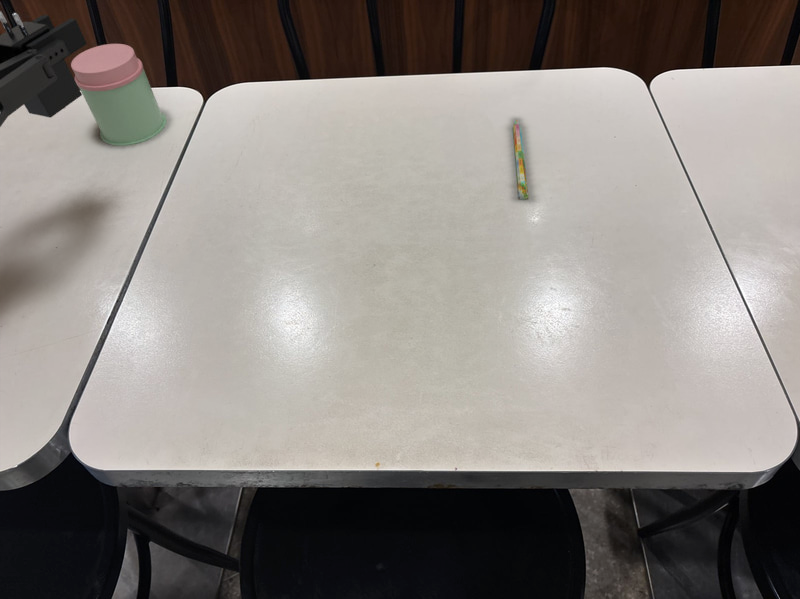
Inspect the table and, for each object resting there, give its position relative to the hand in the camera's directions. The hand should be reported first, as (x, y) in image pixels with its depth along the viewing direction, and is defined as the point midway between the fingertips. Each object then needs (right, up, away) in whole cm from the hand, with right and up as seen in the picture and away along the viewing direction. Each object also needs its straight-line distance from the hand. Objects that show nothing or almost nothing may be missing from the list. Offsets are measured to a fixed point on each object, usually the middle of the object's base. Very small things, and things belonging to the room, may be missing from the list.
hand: (64, 29), depth 65 cm
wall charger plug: (-2, -8, +1) cm, 8 cm away
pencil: (+53, -11, +15) cm, 57 cm away
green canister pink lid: (-4, -3, +26) cm, 27 cm away
